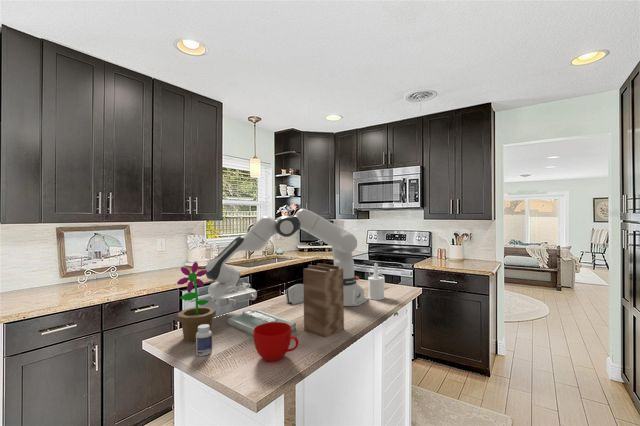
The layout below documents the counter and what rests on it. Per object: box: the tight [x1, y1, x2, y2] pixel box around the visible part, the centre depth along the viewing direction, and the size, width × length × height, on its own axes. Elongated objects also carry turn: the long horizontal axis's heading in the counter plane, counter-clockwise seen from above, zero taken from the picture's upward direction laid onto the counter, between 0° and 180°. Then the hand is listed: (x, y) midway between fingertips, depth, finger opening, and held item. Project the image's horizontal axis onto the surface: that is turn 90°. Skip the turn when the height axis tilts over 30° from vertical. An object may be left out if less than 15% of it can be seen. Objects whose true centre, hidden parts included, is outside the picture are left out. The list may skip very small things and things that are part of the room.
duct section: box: [242, 309, 277, 326], centre depth 138 cm, size 4×20×4 cm, turn 47°
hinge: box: [285, 283, 304, 305], centre depth 178 cm, size 17×5×10 cm, turn 134°
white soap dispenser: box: [367, 262, 386, 301], centre depth 181 cm, size 10×9×20 cm
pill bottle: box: [195, 324, 213, 357], centre depth 112 cm, size 5×5×10 cm
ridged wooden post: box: [302, 262, 345, 338], centre depth 133 cm, size 12×12×27 cm
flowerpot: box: [176, 261, 217, 343], centre depth 127 cm, size 14×14×30 cm
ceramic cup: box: [253, 322, 300, 363], centre depth 107 cm, size 13×17×10 cm
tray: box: [227, 309, 297, 337], centre depth 138 cm, size 16×28×3 cm, turn 47°
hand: (245, 300), depth 145 cm, fingers open, 8 cm apart
